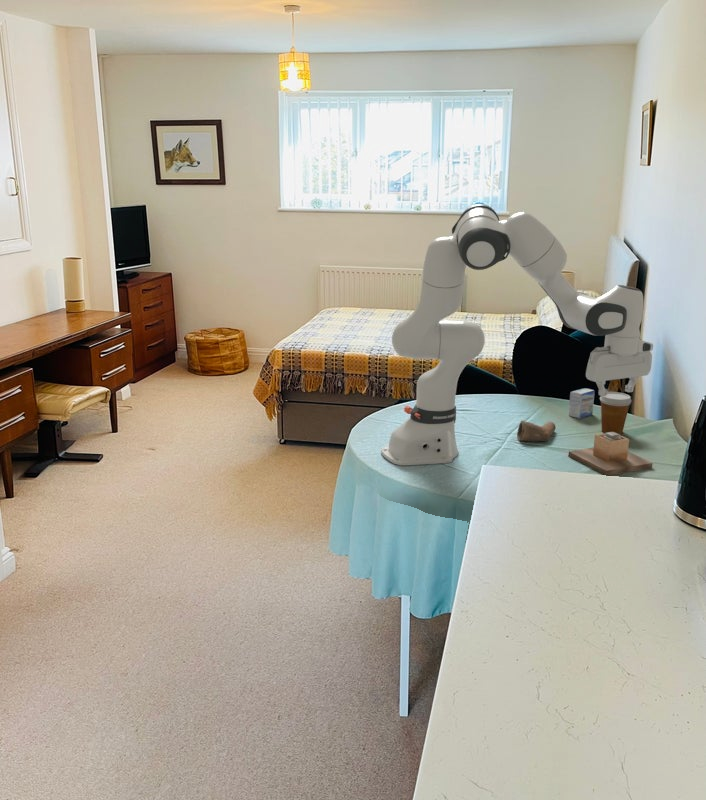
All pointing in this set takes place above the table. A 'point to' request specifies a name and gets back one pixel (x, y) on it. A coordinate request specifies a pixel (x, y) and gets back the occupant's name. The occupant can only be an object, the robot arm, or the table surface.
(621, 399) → the disposable coffee cup
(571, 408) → the medicine box
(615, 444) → the tan hollow cube
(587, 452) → the wavy brown square sheet
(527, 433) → the pipe
